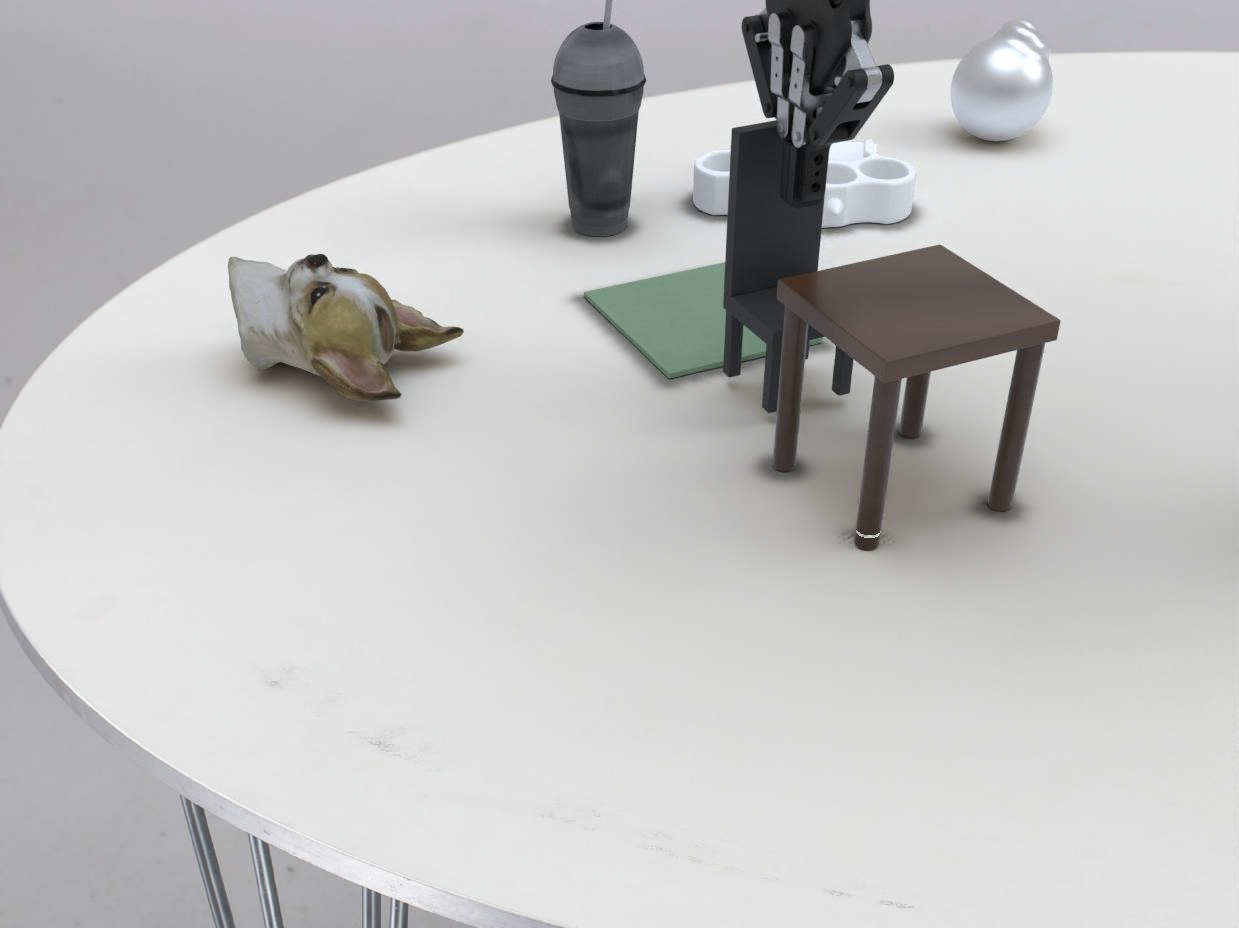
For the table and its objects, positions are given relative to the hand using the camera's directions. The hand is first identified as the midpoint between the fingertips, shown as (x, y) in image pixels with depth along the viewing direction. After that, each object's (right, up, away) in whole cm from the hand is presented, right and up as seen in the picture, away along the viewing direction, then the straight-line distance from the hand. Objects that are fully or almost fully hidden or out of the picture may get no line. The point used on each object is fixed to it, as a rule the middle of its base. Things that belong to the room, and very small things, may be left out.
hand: (800, 202), depth 86 cm
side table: (+5, -17, 0) cm, 18 cm away
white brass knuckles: (+5, +11, +34) cm, 36 cm away
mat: (-5, -3, +17) cm, 18 cm away
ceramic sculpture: (-30, -8, +12) cm, 33 cm away
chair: (0, -10, +9) cm, 13 cm away
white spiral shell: (+24, +20, +45) cm, 55 cm away
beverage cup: (-12, +8, +31) cm, 34 cm away
